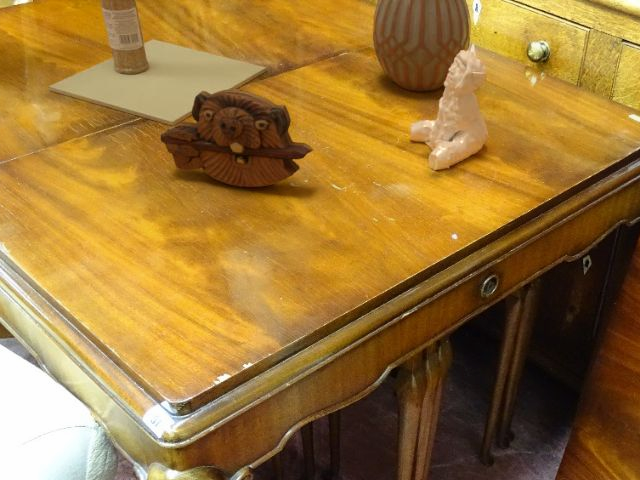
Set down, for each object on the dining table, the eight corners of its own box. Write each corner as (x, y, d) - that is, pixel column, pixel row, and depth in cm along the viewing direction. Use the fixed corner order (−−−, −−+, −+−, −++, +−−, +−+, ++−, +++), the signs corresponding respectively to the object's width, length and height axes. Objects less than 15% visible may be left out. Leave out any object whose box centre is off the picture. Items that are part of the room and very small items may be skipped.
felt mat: (49, 90, 100) (48, 86, 100) (153, 43, 114) (152, 39, 114) (173, 126, 94) (172, 121, 94) (266, 71, 108) (266, 67, 108)
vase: (408, 110, 101) (413, -32, 90) (354, 75, 109) (353, -59, 98) (485, 89, 107) (498, -46, 96) (429, 57, 115) (435, -70, 104)
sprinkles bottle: (149, 61, 108) (130, -42, 99) (148, 74, 104) (129, -31, 96) (114, 63, 107) (92, -41, 98) (113, 76, 103) (89, -30, 95)
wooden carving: (160, 184, 84) (143, 96, 77) (176, 164, 87) (161, 78, 81) (308, 201, 82) (303, 113, 76) (319, 180, 86) (315, 94, 79)
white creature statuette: (404, 136, 95) (407, 39, 87) (468, 127, 98) (477, 32, 90) (432, 172, 88) (439, 71, 81) (500, 162, 91) (512, 63, 83)
